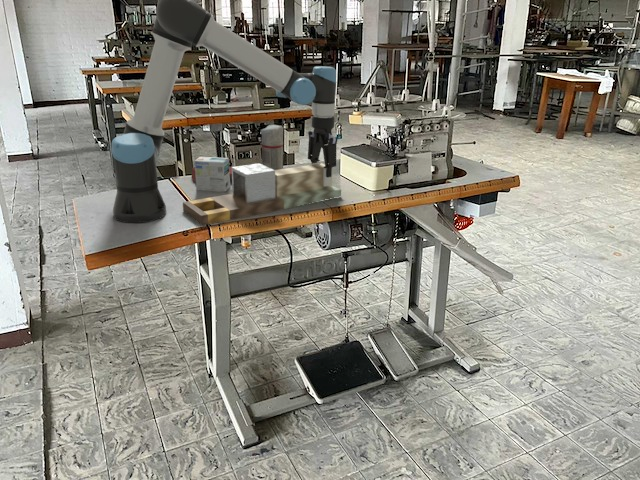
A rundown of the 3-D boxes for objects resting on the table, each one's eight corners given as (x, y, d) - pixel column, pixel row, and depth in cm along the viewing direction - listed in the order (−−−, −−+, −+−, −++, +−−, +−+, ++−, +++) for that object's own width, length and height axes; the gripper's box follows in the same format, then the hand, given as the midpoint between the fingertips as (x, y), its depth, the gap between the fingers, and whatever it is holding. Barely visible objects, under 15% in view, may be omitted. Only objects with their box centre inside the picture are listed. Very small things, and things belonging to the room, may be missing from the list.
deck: (201, 225, 151) (201, 215, 150) (183, 211, 161) (182, 202, 160) (340, 197, 179) (341, 189, 178) (317, 187, 189) (317, 179, 188)
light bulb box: (230, 186, 186) (229, 157, 182) (225, 192, 180) (224, 162, 176) (201, 185, 187) (199, 155, 183) (195, 190, 181) (193, 160, 177)
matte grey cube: (247, 204, 160) (246, 174, 156) (232, 195, 167) (231, 167, 164) (275, 199, 165) (275, 170, 162) (259, 191, 173) (259, 163, 169)
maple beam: (277, 196, 168) (277, 175, 165) (267, 191, 172) (267, 171, 170) (331, 186, 180) (332, 167, 177) (321, 182, 184) (322, 163, 182)
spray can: (282, 181, 194) (283, 128, 186) (260, 181, 194) (260, 127, 187) (284, 175, 202) (285, 123, 194) (263, 174, 202) (263, 123, 194)
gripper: (350, 119, 167) (346, 188, 176) (315, 110, 181) (314, 175, 190) (331, 121, 162) (328, 192, 171) (297, 112, 177) (296, 178, 186)
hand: (320, 183), depth 181 cm, fingers closed on maple beam, 6 cm apart
